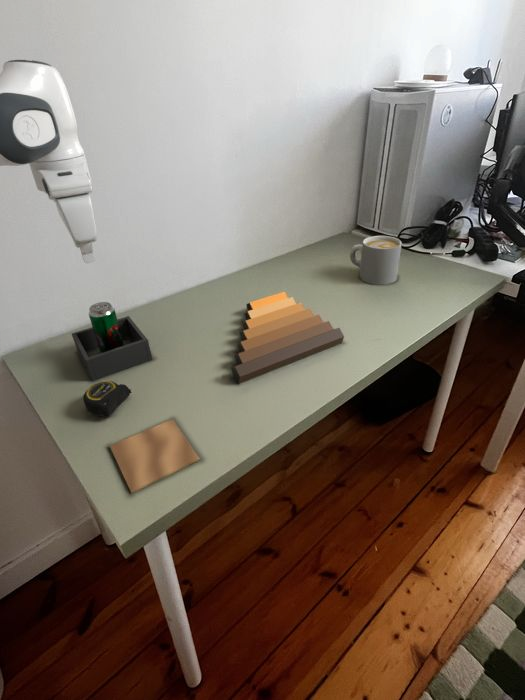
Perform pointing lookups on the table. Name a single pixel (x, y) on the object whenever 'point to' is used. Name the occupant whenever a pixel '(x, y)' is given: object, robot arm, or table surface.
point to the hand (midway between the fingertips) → (84, 253)
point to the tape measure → (105, 397)
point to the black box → (116, 357)
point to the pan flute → (280, 336)
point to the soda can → (105, 326)
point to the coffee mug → (378, 259)
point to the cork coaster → (153, 455)
